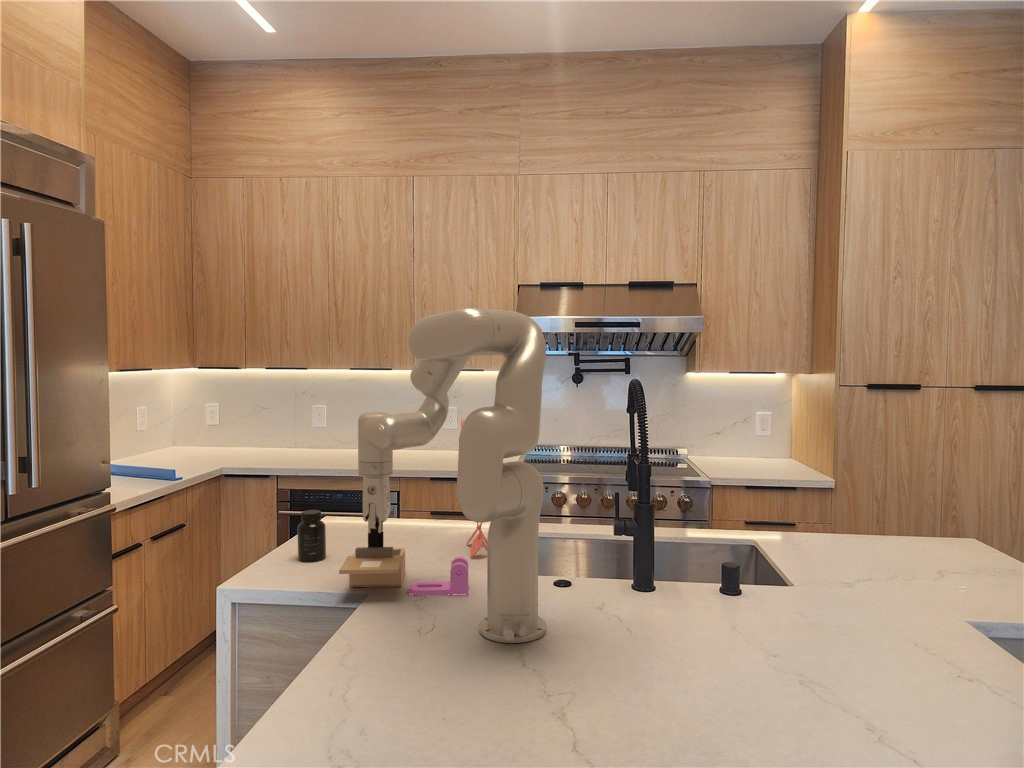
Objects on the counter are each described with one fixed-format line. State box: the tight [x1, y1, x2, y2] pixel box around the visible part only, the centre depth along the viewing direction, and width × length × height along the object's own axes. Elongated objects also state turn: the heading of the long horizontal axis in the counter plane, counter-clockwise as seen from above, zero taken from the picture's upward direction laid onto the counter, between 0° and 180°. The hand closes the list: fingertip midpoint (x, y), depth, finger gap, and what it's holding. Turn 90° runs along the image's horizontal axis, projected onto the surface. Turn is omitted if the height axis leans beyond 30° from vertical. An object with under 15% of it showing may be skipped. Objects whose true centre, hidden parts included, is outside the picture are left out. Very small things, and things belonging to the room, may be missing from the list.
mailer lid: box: [338, 546, 403, 575], centre depth 147 cm, size 10×12×3 cm
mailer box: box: [348, 547, 406, 588], centre depth 157 cm, size 9×11×6 cm
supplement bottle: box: [296, 509, 327, 563], centre depth 173 cm, size 7×7×12 cm
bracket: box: [407, 556, 469, 596], centre depth 150 cm, size 13×6×7 cm, turn 92°
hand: (375, 549), depth 153 cm, fingers closed
